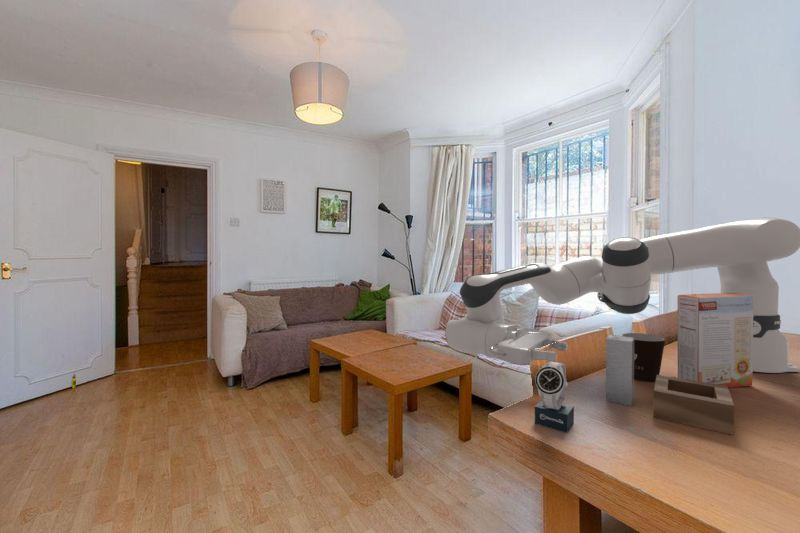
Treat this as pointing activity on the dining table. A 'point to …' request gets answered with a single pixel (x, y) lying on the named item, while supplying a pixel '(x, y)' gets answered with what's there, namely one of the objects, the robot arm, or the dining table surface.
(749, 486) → the dining table surface
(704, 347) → the cracker box
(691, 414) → the well block
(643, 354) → the coffee mug
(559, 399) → the watch
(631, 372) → the grey brushed metal pillar
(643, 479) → the dining table surface
